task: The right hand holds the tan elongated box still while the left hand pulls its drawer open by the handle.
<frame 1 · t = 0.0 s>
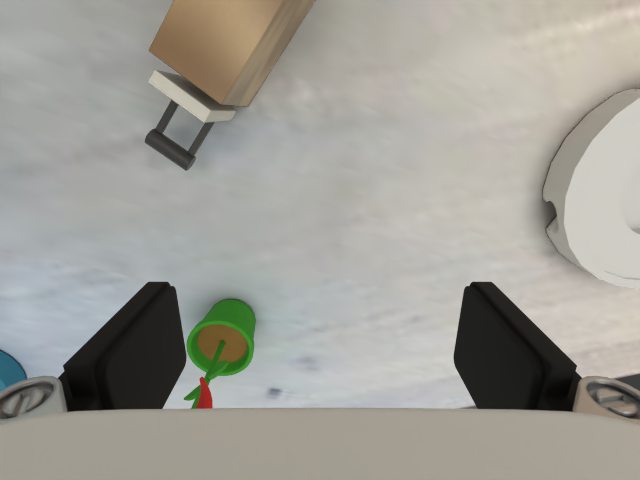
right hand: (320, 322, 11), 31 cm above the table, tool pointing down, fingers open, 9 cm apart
tan elongated box: (274, 2, 35), on the table
potted flower: (231, 318, 47), on the table
drawer: (229, 45, 31), point 6 cm above the table, slide at 1.0 cm
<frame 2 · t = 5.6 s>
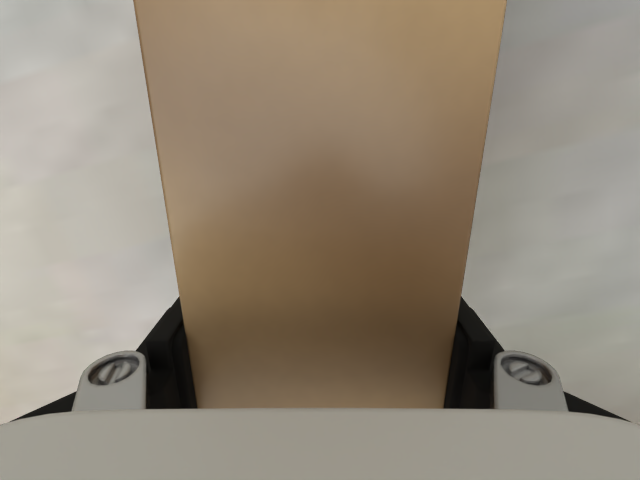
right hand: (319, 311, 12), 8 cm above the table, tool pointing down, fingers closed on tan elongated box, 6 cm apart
tan elongated box: (321, 117, 17), on the table, touching right hand
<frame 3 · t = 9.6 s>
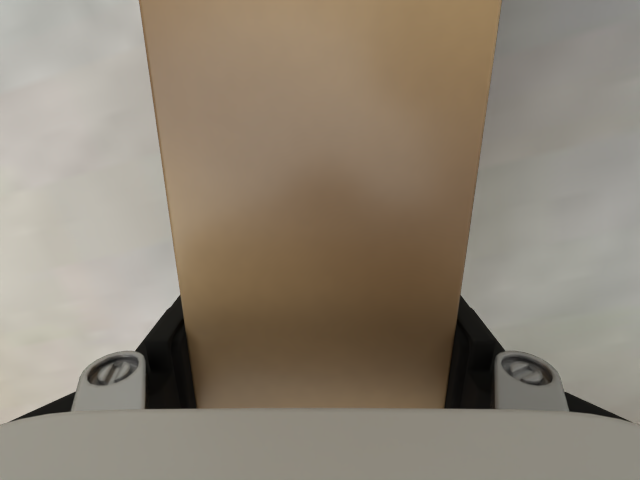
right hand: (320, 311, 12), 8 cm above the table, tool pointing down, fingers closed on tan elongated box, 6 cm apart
tan elongated box: (321, 122, 17), on the table, touching right hand
when the right hand's fingers open (8 cm above the table, at t = 12.5 s): tan elongated box stays where it is, on the table.
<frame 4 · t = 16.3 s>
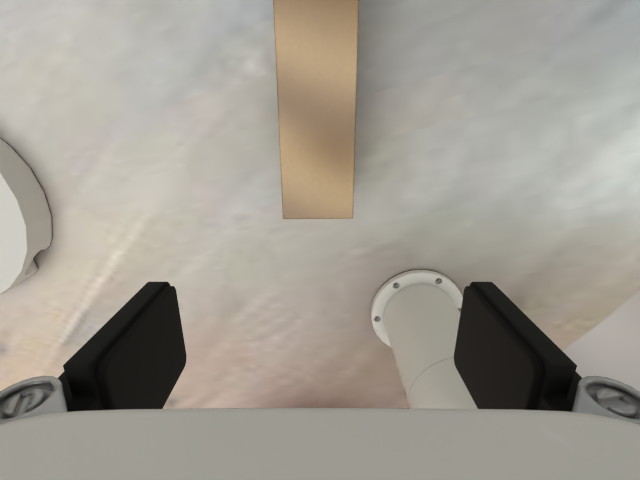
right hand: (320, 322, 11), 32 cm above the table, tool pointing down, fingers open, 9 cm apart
tan elongated box: (317, 107, 39), on the table
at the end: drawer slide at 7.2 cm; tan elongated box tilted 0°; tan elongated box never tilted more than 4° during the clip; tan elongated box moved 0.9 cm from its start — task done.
